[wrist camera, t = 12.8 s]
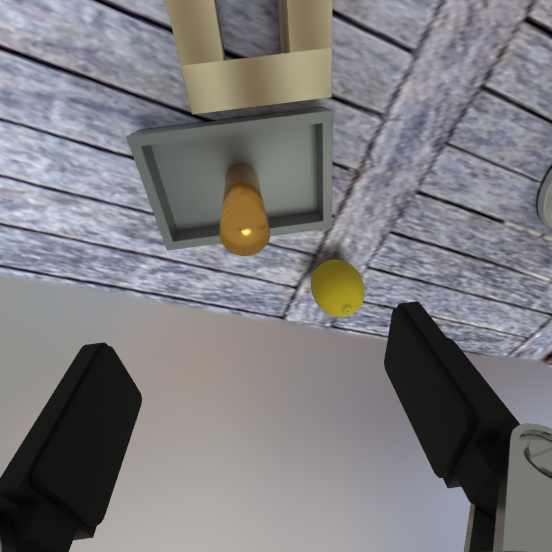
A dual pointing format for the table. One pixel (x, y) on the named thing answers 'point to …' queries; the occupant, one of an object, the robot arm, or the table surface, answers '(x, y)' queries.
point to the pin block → (255, 70)
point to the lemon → (337, 288)
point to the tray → (226, 152)
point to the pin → (243, 212)
